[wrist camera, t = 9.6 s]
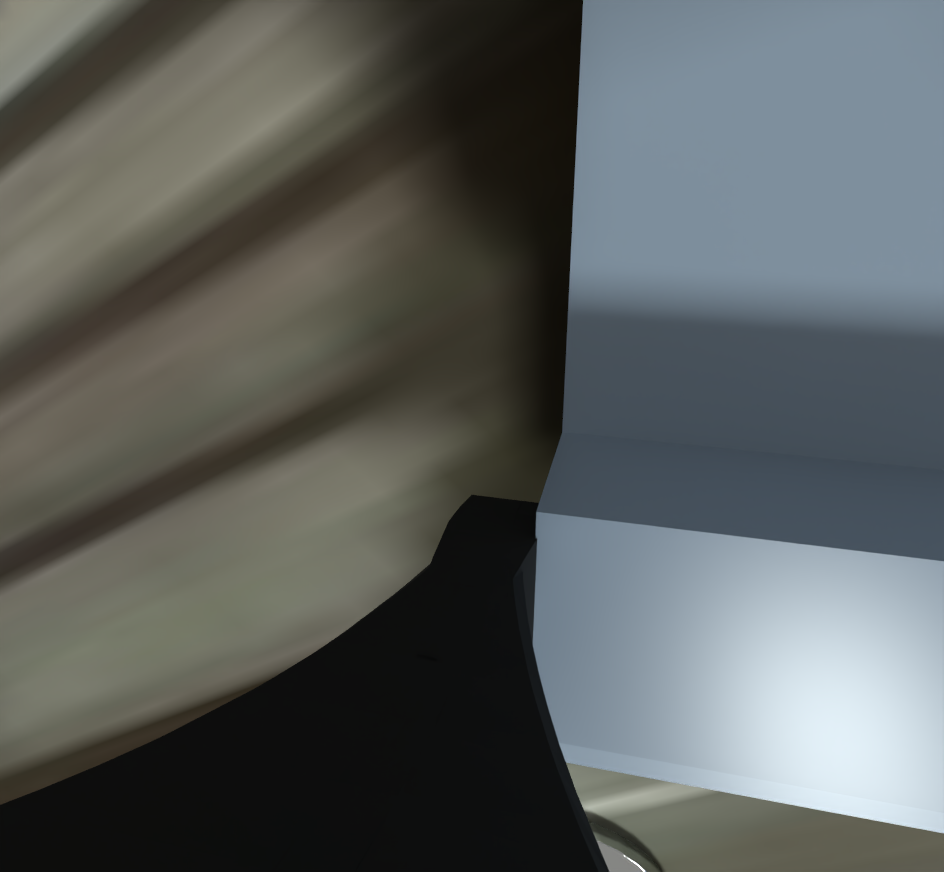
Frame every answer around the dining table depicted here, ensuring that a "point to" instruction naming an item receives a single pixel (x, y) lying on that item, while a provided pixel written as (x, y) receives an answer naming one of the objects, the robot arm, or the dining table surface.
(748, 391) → the duct cover
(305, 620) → the dining table surface
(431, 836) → the robot arm
